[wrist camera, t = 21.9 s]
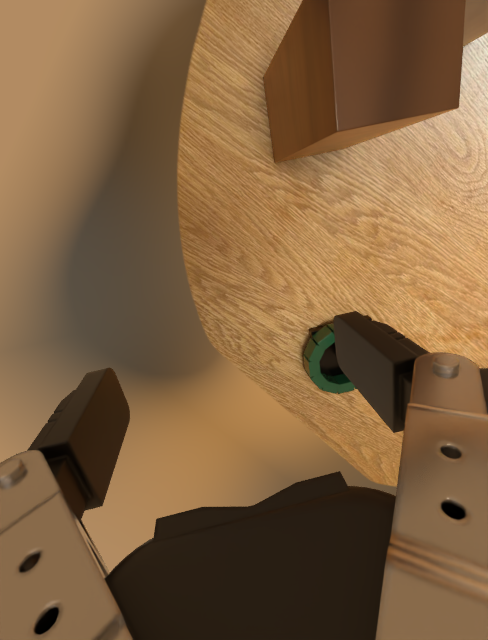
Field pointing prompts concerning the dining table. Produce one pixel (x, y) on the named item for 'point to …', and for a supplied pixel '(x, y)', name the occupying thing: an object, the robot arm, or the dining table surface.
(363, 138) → the brown rectangular block
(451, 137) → the dining table surface
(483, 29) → the beverage can
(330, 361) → the post
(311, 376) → the ring
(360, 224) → the dining table surface
